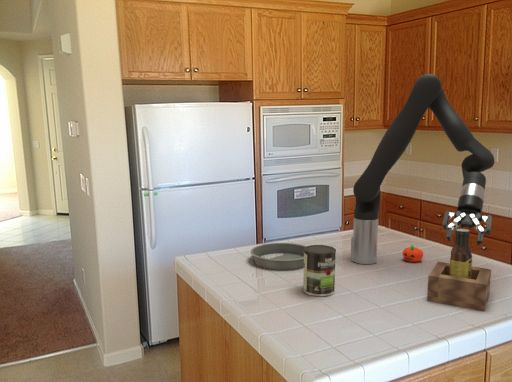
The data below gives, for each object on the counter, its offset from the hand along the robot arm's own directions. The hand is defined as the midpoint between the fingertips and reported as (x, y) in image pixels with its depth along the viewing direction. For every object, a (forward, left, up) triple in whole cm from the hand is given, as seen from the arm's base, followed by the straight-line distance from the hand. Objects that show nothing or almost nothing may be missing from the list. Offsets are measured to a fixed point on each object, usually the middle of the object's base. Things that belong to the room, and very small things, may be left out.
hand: (463, 241), depth 149 cm
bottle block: (0, -4, -17) cm, 17 cm away
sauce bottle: (0, -4, -15) cm, 16 cm away
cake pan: (-65, +1, -17) cm, 67 cm away
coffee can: (-40, -21, -17) cm, 48 cm away
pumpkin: (-21, +27, -17) cm, 38 cm away
